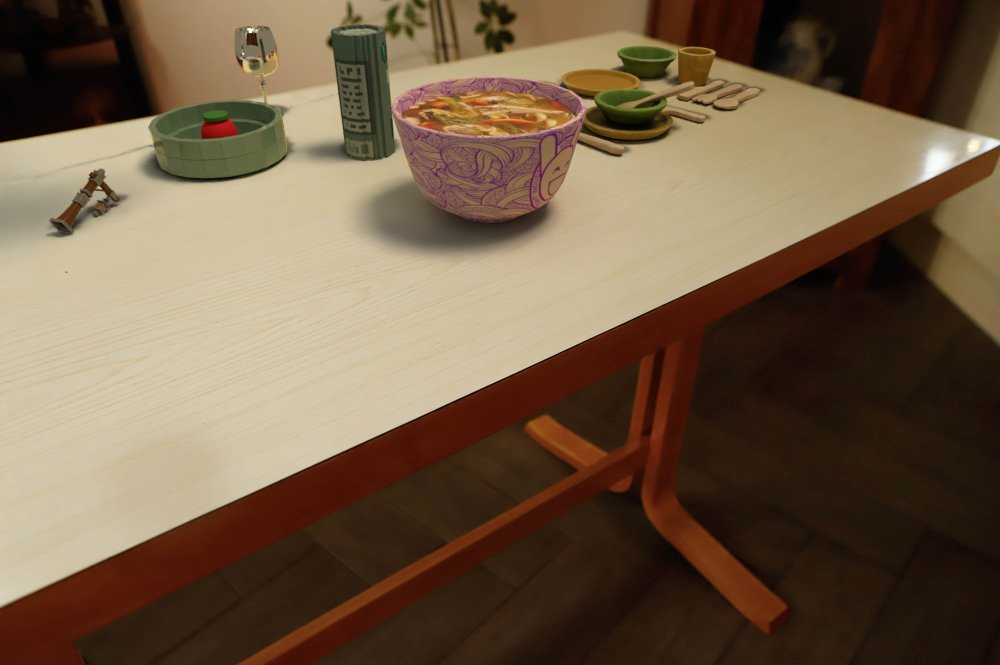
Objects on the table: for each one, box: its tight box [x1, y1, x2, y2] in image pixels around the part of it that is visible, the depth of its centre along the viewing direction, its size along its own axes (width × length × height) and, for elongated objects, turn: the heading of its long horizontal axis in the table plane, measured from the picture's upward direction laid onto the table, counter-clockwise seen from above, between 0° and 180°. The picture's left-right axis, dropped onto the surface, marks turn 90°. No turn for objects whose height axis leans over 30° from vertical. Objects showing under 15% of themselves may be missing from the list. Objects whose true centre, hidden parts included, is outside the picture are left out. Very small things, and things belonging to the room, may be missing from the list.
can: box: [330, 23, 396, 161], centre depth 90 cm, size 6×6×15 cm
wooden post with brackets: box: [48, 168, 121, 235], centre depth 77 cm, size 2×8×4 cm, turn 160°
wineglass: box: [234, 25, 285, 118], centre depth 102 cm, size 6×6×12 cm
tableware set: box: [534, 45, 761, 155], centre depth 110 cm, size 41×28×6 cm
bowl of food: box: [391, 76, 588, 224], centre depth 77 cm, size 20×20×12 cm
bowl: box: [147, 99, 288, 179], centre depth 91 cm, size 16×16×5 cm
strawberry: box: [201, 110, 238, 139], centre depth 91 cm, size 4×4×5 cm
